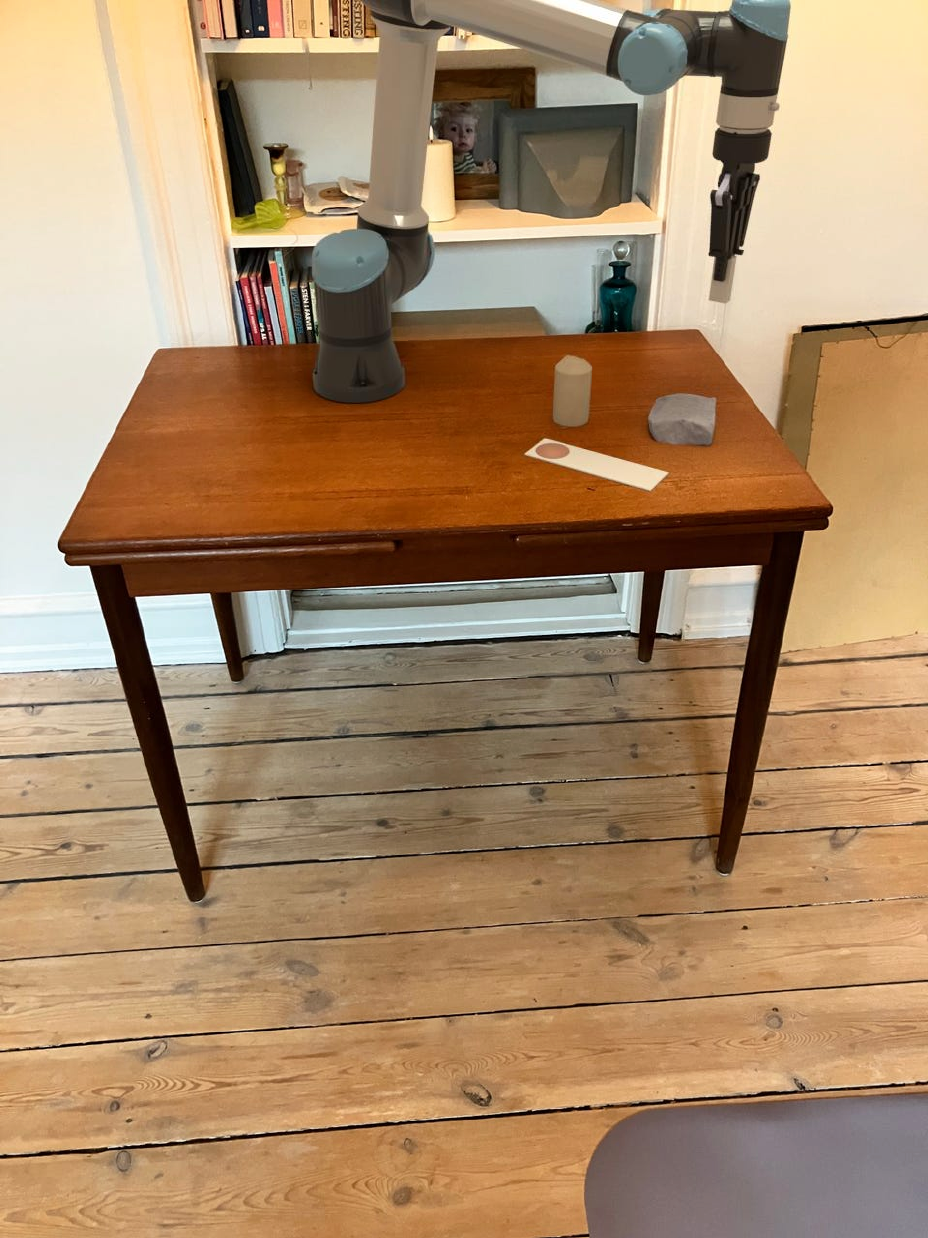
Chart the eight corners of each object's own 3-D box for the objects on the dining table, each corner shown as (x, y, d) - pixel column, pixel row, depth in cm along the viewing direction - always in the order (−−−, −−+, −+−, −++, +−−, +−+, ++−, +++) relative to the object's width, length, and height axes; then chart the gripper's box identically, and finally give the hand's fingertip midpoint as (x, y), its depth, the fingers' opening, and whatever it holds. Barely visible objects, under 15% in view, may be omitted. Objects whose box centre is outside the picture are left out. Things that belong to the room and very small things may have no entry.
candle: (594, 417, 155) (599, 355, 149) (578, 430, 152) (582, 367, 146) (563, 409, 158) (566, 348, 152) (546, 422, 154) (549, 360, 148)
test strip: (524, 455, 145) (524, 453, 145) (544, 439, 149) (544, 437, 149) (650, 491, 136) (650, 490, 136) (668, 473, 140) (668, 472, 140)
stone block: (649, 454, 149) (717, 447, 147) (645, 424, 147) (715, 416, 144) (652, 422, 159) (717, 415, 156) (649, 394, 156) (715, 386, 154)
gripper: (753, 139, 129) (726, 318, 143) (787, 121, 138) (759, 292, 152) (698, 133, 133) (678, 308, 147) (735, 116, 141) (712, 283, 155)
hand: (719, 300), depth 149 cm, fingers closed
